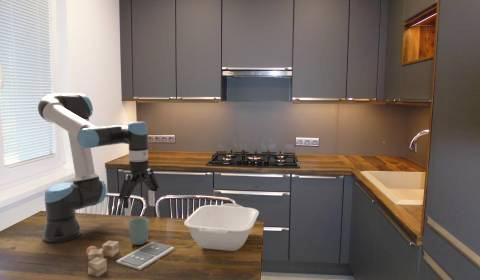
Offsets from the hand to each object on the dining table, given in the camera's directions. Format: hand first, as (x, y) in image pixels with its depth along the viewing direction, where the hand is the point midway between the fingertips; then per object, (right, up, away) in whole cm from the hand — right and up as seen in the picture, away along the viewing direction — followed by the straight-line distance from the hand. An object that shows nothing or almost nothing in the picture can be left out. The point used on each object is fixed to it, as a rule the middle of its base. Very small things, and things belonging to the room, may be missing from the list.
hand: (140, 210), depth 148 cm
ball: (-18, -17, -5) cm, 25 cm away
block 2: (-10, -15, -19) cm, 26 cm away
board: (+4, -17, -5) cm, 18 cm away
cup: (-2, -16, +7) cm, 17 cm away
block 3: (-11, -17, -3) cm, 20 cm away
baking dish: (+34, -16, +7) cm, 38 cm away
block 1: (-14, -18, -11) cm, 25 cm away
